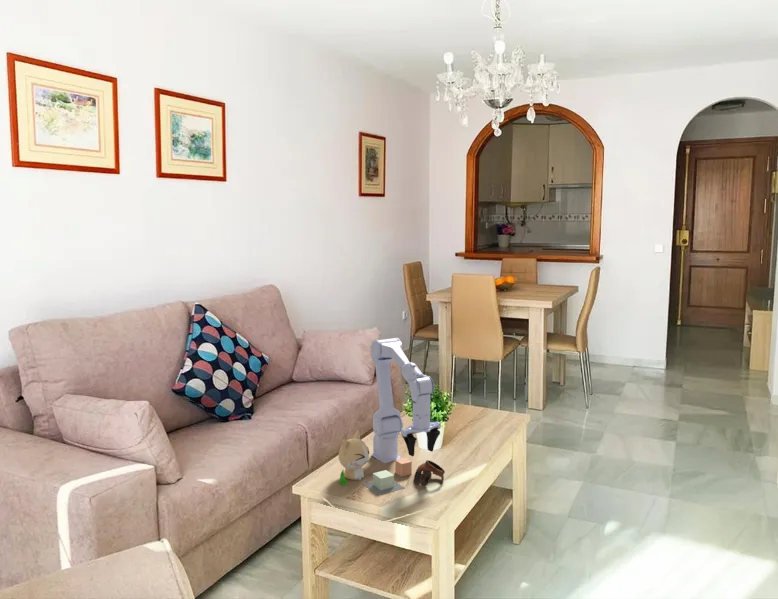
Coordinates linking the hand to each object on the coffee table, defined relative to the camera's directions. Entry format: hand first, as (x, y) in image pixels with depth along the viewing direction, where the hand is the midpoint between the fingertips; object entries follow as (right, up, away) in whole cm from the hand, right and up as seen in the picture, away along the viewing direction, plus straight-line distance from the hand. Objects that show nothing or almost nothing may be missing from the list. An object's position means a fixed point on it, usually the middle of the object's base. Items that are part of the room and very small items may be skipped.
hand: (420, 452), depth 214 cm
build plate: (-12, -11, -3) cm, 16 cm away
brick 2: (-6, -9, +7) cm, 13 cm away
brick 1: (-12, -10, -3) cm, 16 cm away
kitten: (-23, -10, +4) cm, 25 cm away
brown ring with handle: (+2, -10, 0) cm, 11 cm away
